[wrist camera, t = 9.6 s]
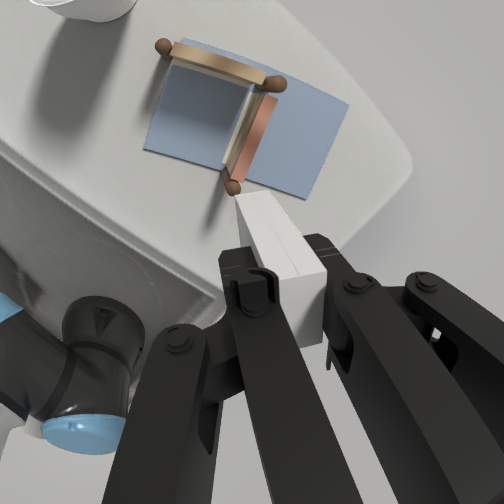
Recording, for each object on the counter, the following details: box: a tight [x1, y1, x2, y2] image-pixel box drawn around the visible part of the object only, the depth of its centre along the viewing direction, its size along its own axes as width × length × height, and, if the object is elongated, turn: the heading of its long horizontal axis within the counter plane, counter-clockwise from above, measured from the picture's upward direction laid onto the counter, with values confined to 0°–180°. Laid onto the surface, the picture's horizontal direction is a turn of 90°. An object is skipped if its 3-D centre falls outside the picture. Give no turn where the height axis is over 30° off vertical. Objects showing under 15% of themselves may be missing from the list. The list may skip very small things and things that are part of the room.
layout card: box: [143, 38, 349, 199], centre depth 37 cm, size 24×15×1 cm, turn 69°
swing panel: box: [221, 93, 278, 196], centre depth 35 cm, size 12×2×7 cm, turn 158°
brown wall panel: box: [155, 38, 287, 93], centre depth 30 cm, size 14×2×8 cm, turn 69°
